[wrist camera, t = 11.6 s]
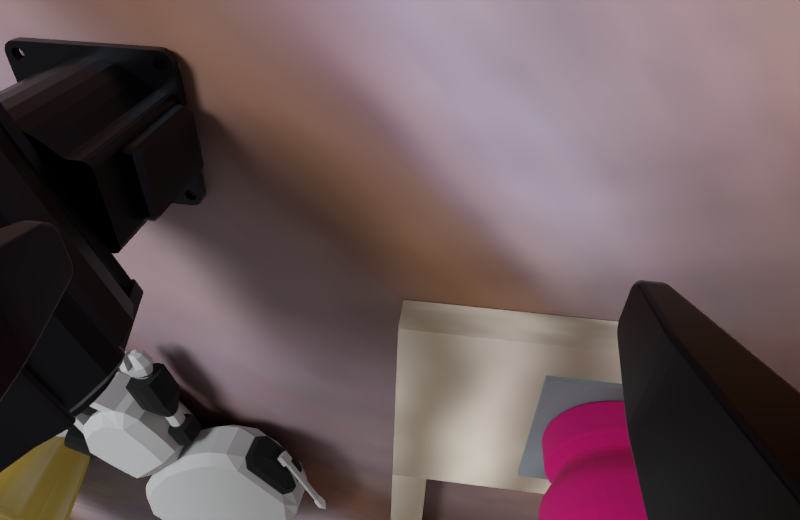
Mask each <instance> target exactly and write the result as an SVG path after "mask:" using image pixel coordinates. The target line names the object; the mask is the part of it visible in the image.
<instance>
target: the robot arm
mask: <svg viewBox="0 0 800 520" xmlns="http://www.w3.org/2000/svg"><path fill="white" fill-rule="evenodd" d="M19 49H21V50H22V51H23V53H24V54H25V57H24V56H23V55H21V53H20V51H19ZM5 52H6V55H7V58H8V60H9V63H10V65H11V68H12V70H13V73H14V75H15V77H16V80H17V82H18V83H16V84H14V85H12V86H10V87H8V88H6V89H4V90H2V91H0V473H1V472H2V471H3V470H5V469H6V468H7V467H9V466H10V465H11V464H13V463H14V462H16V461H17V460H18V459H20V458H21V457H23V456H24V455H25V454H27V453H28V452H29V451H31V450H32V449H34V448H35V447H37V446H39V445H40V444H42V443H44V442H46V441H48V440H49V439H51V438H53V437H55V436H56V435H58V434H60V433H62V432H63V431H65V430H67V429H69V428H70V427H71V426H72V425H73V424H74V423H75V421H76V418H75V417H76V416H77V415H79V414H80V413H82V412H83V411H84V410H85V409H86V408H87V407H89V406H90V405H91V404H92V403H93V402H94V401H95V400H96V399H97V398H98V397H99V396H100V395H101V394H102V393H103V392H104V391H105V390H106V389H107V387H108V386H109V384H110V383H111V381H112V380H113V379H114V377H115V375H116V373H117V371H118V369H119V367H120V365H121V364H122V362H123V359H124V356H125V348H126V345H127V342H128V339H129V336H130V332H131V329H132V326H133V323H134V320H135V317H136V314H137V311H138V307H139V304H140V301H141V298H142V295H143V290H142V289H141V287H140V286H139V285H138V283H137V282H136V281H135V280H134V279H132V280H131V279H130V278H129V276H128V275H127V274H126V272H125V271H124V269H123V268H122V267H121V265H120V264H119V263H118V261H117V260H116V259H115V257H114V256H113V255H112V253H119V251H120V250H121V249H122V248H123V247H124V246H125V245H126V244H127V243H128V242H129V240H130V239H131V238H132V237H133V236H134V235H135V234H136V233H137V232H138V230H139V229H140V228H141V227H142V226H143V225H144V224H145V223H146V222H147V220H148V221H156V220H157V219H158V218H159V217H160V216H161V215H162V214H163V212H164V211H165V210H166V209H167V208H168V207H169V206H170V204H171V203H177V204H188V205H198V204H199V203H201V201H202V200H203V199H204V198H205V196H206V190H205V185H204V180H203V176H202V171H201V169H202V168H203V160H202V155H201V151H200V146H199V141H198V137H197V132H196V127H195V123H194V118H193V113H192V110H191V109H190V108H189V107H188V106H187V102H186V98H185V93H184V89H183V84H182V79H181V75H180V70H179V66H178V61H177V59H176V57H175V55H174V54H173V53H172V52H171V51H170V50H168V49H167V48H163V47H152V46H138V45H123V44H109V43H94V42H79V41H65V40H50V39H36V38H21V37H20V38H15V39H13V40H10V41H8V42H7V43H6V44H5ZM158 57H159V58H162V59H163V60H164V61H165V63H166V68H164V67H162V66H161V65H160V64H159V62H158ZM189 190H192V191H194V192H195V193H196V195H193V194H192V193H190V191H189ZM617 339H618V349H619V359H620V369H621V378H622V388H623V398H624V408H625V416H626V424H627V430H628V435H629V440H630V445H631V449H632V454H633V458H634V462H635V467H636V471H637V475H638V480H639V484H640V488H641V493H642V497H643V501H644V506H645V510H646V515H647V519H648V520H800V392H798V391H797V390H796V389H795V388H794V387H792V386H791V385H790V384H789V383H787V382H786V381H785V380H784V379H783V378H781V377H780V376H779V375H778V374H776V373H775V372H774V371H773V370H772V369H770V368H769V367H768V366H767V365H766V364H764V363H763V362H762V361H761V360H759V359H758V358H757V357H756V356H755V355H753V354H752V353H751V352H750V351H748V350H747V349H746V348H745V347H744V346H742V345H741V344H740V343H739V342H737V341H736V340H735V339H734V338H733V337H731V336H730V335H729V334H728V333H727V332H725V331H724V330H723V329H722V328H720V327H719V326H718V325H717V324H716V323H714V322H713V321H712V320H711V319H709V318H708V317H707V316H706V315H705V314H703V313H702V312H701V311H700V310H699V309H697V308H696V307H695V306H694V305H692V304H691V303H690V302H689V301H688V300H686V299H685V298H684V297H683V296H681V295H680V294H679V293H678V292H677V291H675V290H674V289H673V288H672V287H671V286H669V285H668V284H666V283H663V282H653V281H643V280H640V281H637V282H635V283H634V285H633V286H632V288H631V290H630V293H629V296H628V298H627V301H626V303H625V306H624V308H623V311H622V314H621V316H620V319H619V322H618V328H617Z"/></svg>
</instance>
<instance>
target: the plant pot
mask: <svg viewBox="0 0 800 520" xmlns="http://www.w3.org/2000/svg"><path fill="white" fill-rule="evenodd" d="M64 440H65V437H57V436H55V437H53V438H51V439H49V440H48V441H46V442H44V443H42V444H40V445H39V446H37V447H35V448H34V449H32V450H31V451H29V452H28V453H27V454H25V455H24V456H23V457H21V458H20V459H18V460H17V461H16V462H14V463H13V464H11V465H10V466H9V467H7V468H6V469H5V470H3V471H2V472H1V473H0V520H68V519H69V516H70V514H71V511H72V508H73V506H74V503H75V500H76V497H77V495H78V492H79V489H80V487H81V484H82V481H83V479H84V476H85V474H86V471H87V468H88V465H89V462H90V456H88V455H85V454H83V453H80V452H78V451H75V450H72V449H70V448H67V447H65V445H64Z"/></svg>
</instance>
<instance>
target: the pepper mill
mask: <svg viewBox="0 0 800 520" xmlns="http://www.w3.org/2000/svg"><path fill="white" fill-rule="evenodd" d="M542 450H543V461H544V470H545V474H546V477H547V479H548V480H549V482H550V483H551V485H550V487H549V488H548V490H547V491H546V493H545V495H544V496H543V498H542V502H541V505H540V508H539V520H648V519H647V515H646V510H645V506H644V501H643V497H642V493H641V488H640V484H639V480H638V475H637V471H636V467H635V462H634V458H633V454H632V449H631V445H630V440H629V435H628V430H627V424H626V416H625V408H624V401H598V402H590V403H586V404H582V405H579V406H575V407H573V408H571V409H569V410H567V411H564V412H562V413H561V414H559V415H558V416H557V417H556V418H554V419H553V420H552V421H551V422H550V423H549V424H548V426H547V428H546V429H545V431H544V433H543V437H542Z"/></svg>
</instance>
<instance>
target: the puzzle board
mask: <svg viewBox="0 0 800 520" xmlns="http://www.w3.org/2000/svg"><path fill="white" fill-rule="evenodd" d="M617 328H618V322H616V321H607V320H597V319H587V318H577V317H567V316H558V315H548V314H538V313H528V312H519V311H509V310H499V309H489V308H480V307H470V306H460V305H450V304H440V303H431V302H421V301H411V300H403V304H402V310H401V315H400V321H399V327H398V346H397V372H396V397H395V423H394V449H393V475H392V500H391V520H422V514H423V505H424V496H425V487H426V479H430V480H438V481H446V482H454V483H462V484H470V485H478V486H485V487H493V488H501V489H509V490H517V491H525V492H532V493H540V494H545V493H546V491H547V490H548V488H549V487H550V485H551V483H550V482H549V480H548V479H547V477H546V474H545V470H544V461H543V450H542V437H543V433H544V431H545V429H546V428H547V426H548V424H549V423H550V422H551V421H552V420H553V419H554V418H556V417H557V416H558V415H559V414H561V413H562V412H564V411H567V410H569V409H571V408H573V407H575V406H579V405H582V404H586V403H590V402H598V401H624V398H623V388H622V378H621V369H620V359H619V349H618V339H617Z"/></svg>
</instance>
